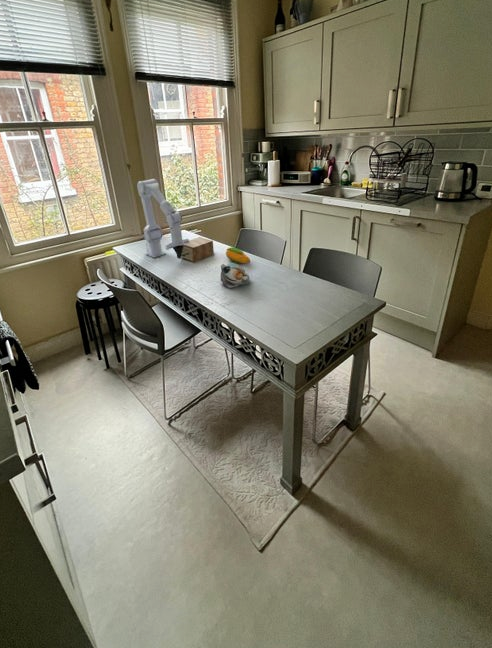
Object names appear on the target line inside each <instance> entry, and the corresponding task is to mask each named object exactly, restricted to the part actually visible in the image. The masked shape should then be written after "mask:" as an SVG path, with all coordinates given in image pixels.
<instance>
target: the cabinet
mask: <svg viewBox="0 0 492 648" xmlns="http://www.w3.org/2000/svg"><path fill="white" fill-rule="evenodd" d="M182 246H186V247H189V248H192V249H193V256H194V261H192V262H193V263H196V262H200V261H202V260H204V259H206V258H209V257H212V256H215V253H214V241H213V240H212V239H208V238H205V237H201V236H199V237H197V238H193V239H189V243H185V244H183V245H182ZM182 258H183V257H181V259H182ZM183 259H186V258H183ZM186 260H187V259H186Z"/></svg>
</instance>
